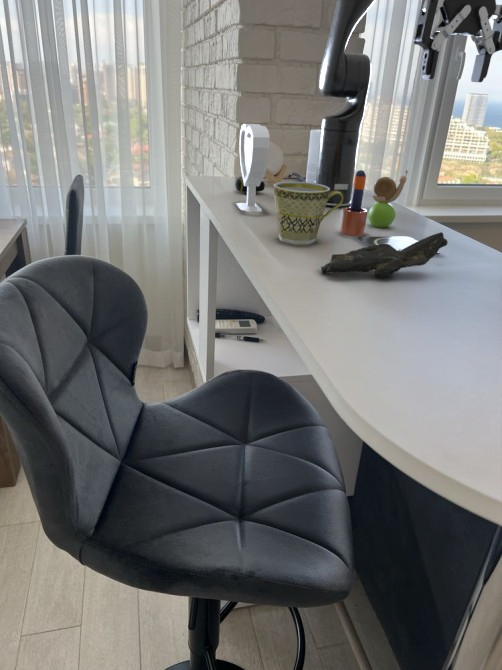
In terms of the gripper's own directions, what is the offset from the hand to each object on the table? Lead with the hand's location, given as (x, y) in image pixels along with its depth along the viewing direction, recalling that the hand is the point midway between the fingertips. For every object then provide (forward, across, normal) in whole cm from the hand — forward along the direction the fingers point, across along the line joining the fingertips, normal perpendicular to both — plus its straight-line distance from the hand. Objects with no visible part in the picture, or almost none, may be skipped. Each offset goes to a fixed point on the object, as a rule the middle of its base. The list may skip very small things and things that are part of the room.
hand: (452, 80), depth 78 cm
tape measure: (+29, +17, -57) cm, 66 cm away
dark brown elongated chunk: (+28, +12, +9) cm, 32 cm away
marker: (+28, +6, -14) cm, 31 cm away
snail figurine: (+28, -3, -18) cm, 34 cm away
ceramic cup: (+28, +18, -10) cm, 35 cm away
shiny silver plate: (+28, +1, -4) cm, 28 cm away
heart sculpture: (+28, +22, -37) cm, 51 cm away
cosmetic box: (+29, -7, -65) cm, 72 cm away
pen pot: (+28, +6, -14) cm, 32 cm away
